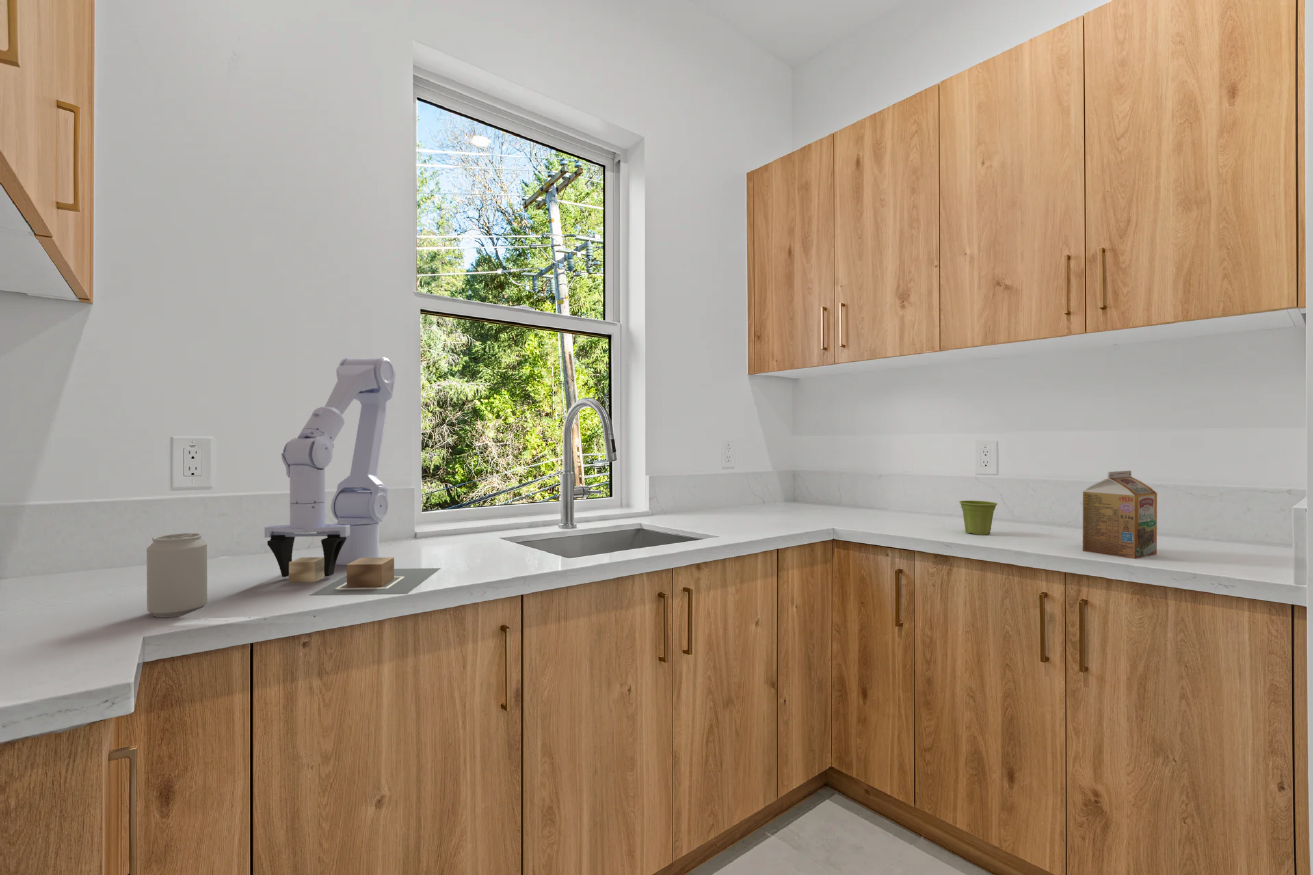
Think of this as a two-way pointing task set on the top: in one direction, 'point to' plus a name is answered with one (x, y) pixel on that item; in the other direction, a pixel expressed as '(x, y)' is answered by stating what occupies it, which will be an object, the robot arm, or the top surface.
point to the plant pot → (978, 516)
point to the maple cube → (306, 569)
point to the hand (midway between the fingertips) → (307, 575)
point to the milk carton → (1120, 517)
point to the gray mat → (399, 585)
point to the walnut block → (370, 572)
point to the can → (176, 574)
